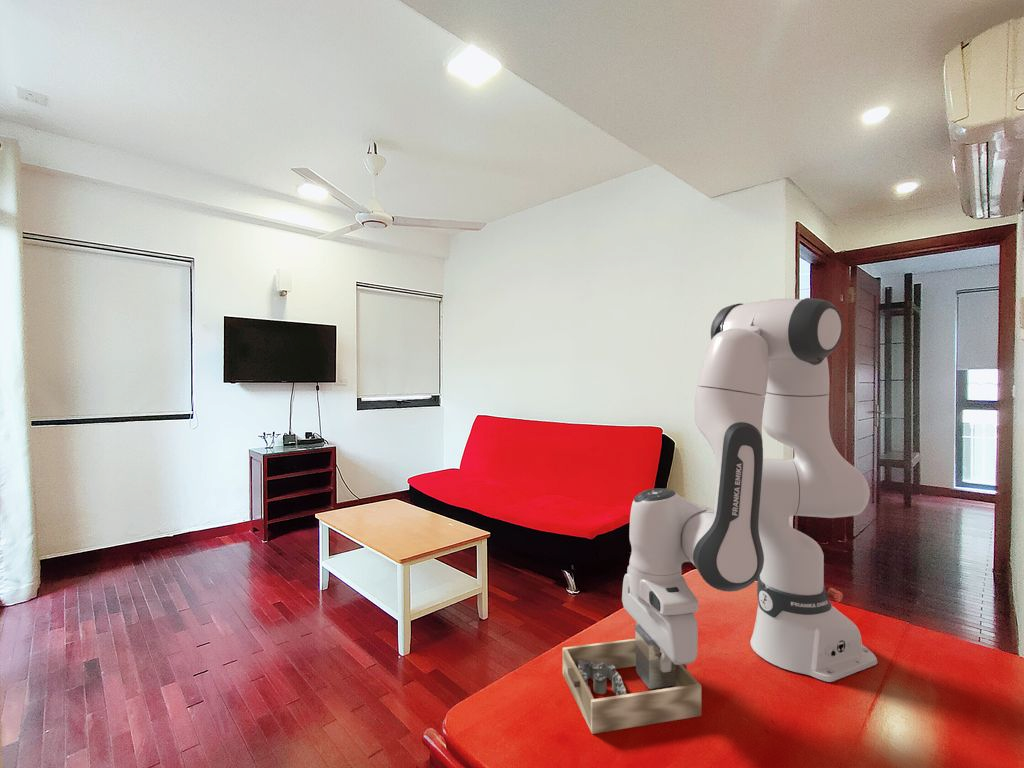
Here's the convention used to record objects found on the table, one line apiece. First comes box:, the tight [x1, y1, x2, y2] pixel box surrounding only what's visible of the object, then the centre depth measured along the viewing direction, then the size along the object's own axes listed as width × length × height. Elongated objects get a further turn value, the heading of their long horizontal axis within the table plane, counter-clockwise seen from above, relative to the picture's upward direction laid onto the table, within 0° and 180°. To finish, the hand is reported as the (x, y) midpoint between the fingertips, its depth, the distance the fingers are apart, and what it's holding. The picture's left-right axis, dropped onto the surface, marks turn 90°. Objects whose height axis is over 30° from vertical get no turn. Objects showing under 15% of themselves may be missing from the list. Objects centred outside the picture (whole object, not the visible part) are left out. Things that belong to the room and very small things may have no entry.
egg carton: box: [578, 660, 628, 696], centre depth 81 cm, size 11×8×4 cm
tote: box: [562, 638, 702, 735], centre depth 82 cm, size 21×15×5 cm
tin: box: [634, 624, 676, 690], centre depth 83 cm, size 5×5×8 cm
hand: (655, 658), depth 83 cm, fingers closed on tin, 5 cm apart
